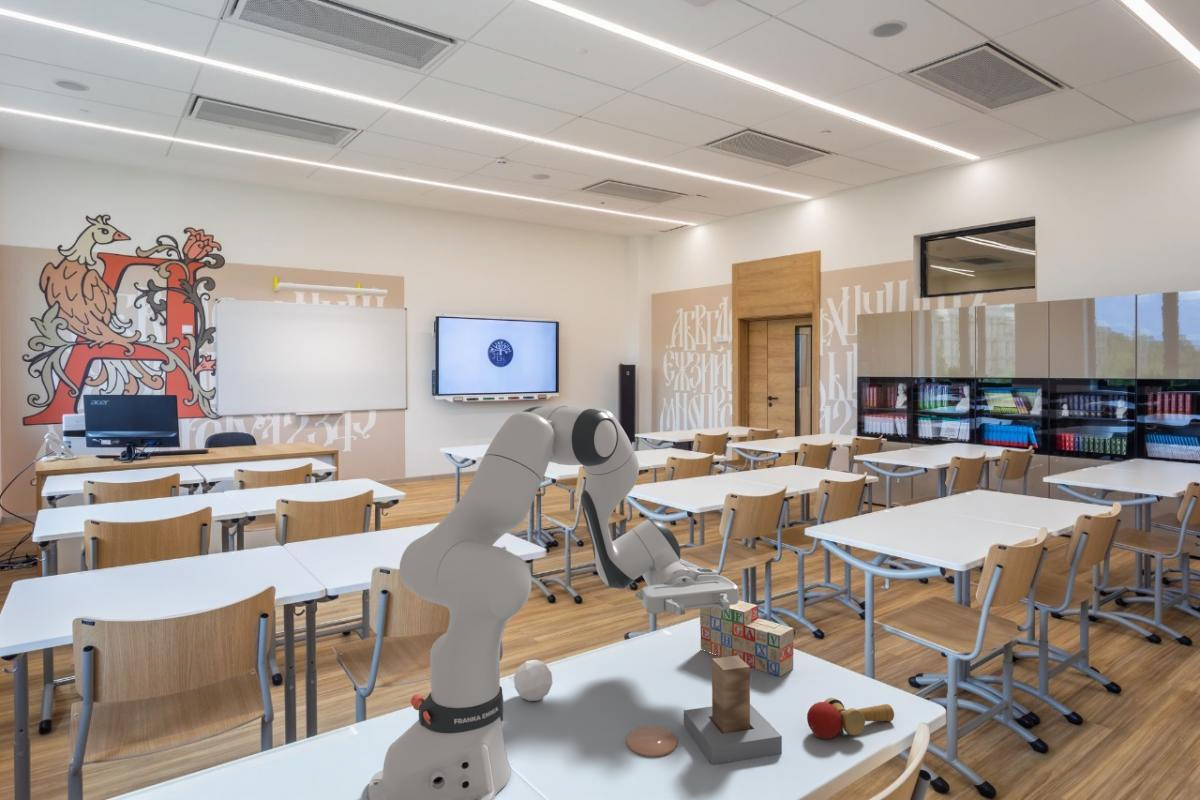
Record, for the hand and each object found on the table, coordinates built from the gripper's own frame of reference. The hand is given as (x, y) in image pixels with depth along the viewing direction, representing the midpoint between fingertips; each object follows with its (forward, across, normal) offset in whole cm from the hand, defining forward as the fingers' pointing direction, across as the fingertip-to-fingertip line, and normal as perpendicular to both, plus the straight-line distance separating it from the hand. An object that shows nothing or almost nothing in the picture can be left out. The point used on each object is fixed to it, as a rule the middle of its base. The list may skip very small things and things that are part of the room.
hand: (704, 608), depth 133 cm
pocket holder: (+12, 0, +20) cm, 23 cm away
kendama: (+15, +22, +20) cm, 34 cm away
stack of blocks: (-19, +18, +20) cm, 33 cm away
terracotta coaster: (+10, -14, +19) cm, 26 cm away
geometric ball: (-13, -32, +20) cm, 40 cm away
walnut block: (+12, 0, +20) cm, 23 cm away
